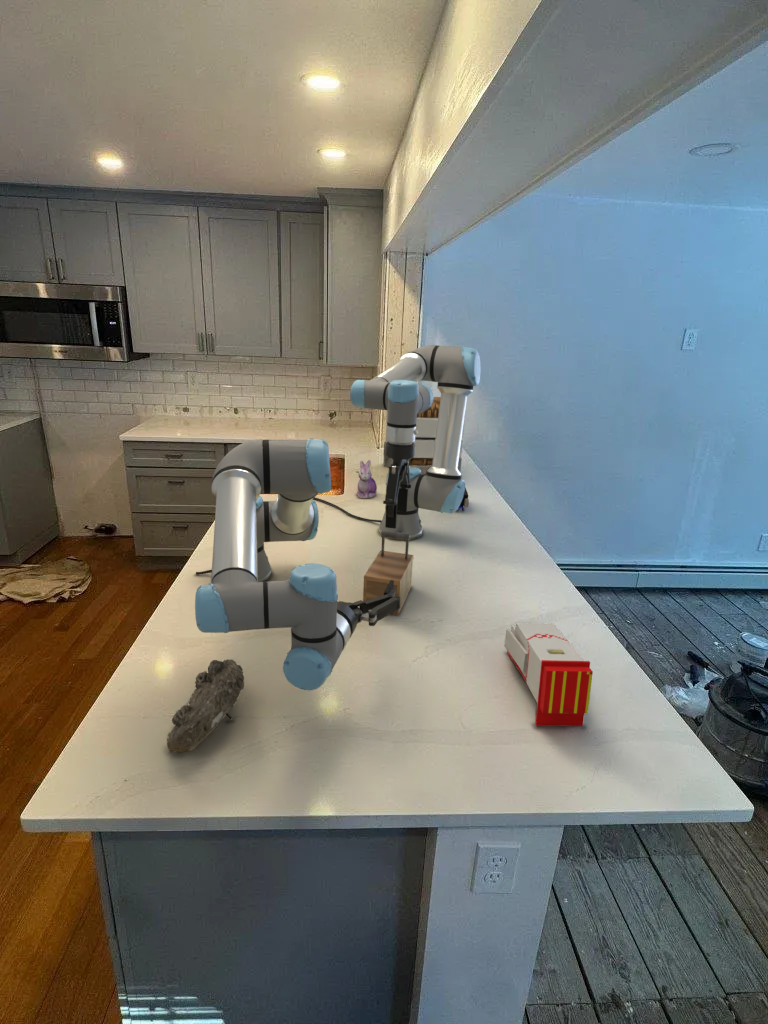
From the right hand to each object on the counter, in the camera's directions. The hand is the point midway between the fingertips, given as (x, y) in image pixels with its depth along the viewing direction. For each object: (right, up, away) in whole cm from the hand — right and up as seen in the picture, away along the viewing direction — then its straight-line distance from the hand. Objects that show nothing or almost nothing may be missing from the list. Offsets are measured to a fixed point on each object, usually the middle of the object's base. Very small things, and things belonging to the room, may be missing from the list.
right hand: (396, 519), depth 154 cm
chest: (-2, -22, +2) cm, 22 cm away
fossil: (-36, -37, -46) cm, 69 cm away
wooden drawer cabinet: (+14, +21, +121) cm, 124 cm away
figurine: (-11, +9, +85) cm, 86 cm away
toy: (+30, -35, -31) cm, 56 cm away
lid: (-2, -14, -1) cm, 14 cm away
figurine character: (+27, +4, +76) cm, 81 cm away
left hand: (-8, -14, -29) cm, 33 cm away
